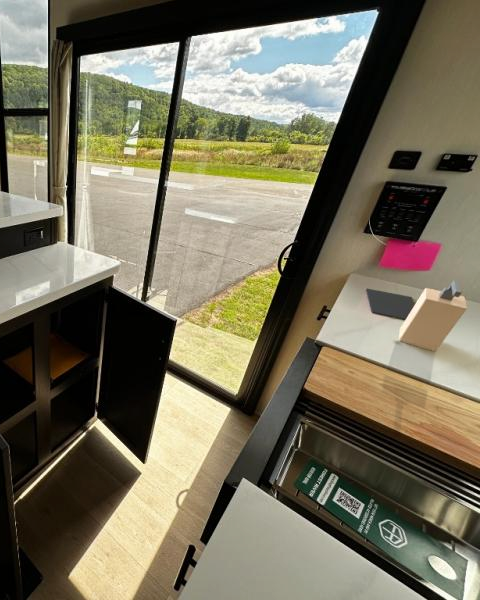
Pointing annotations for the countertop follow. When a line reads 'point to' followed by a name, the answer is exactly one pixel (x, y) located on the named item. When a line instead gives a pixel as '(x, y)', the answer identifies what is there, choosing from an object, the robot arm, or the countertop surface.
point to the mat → (390, 304)
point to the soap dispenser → (433, 317)
